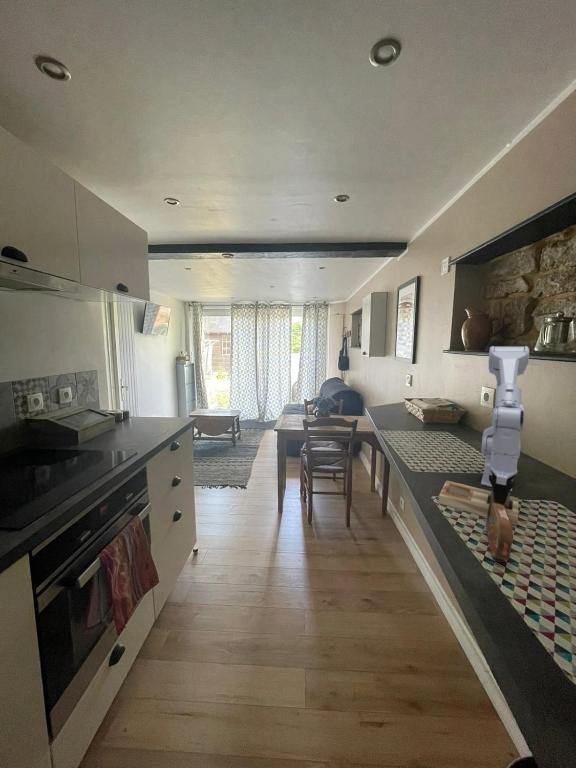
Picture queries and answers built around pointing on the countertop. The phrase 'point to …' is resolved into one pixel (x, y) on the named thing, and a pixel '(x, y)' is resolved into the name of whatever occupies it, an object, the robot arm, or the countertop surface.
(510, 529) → the tin
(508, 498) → the grey rectangular block
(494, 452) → the robot arm
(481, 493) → the rail plate
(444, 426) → the countertop surface
